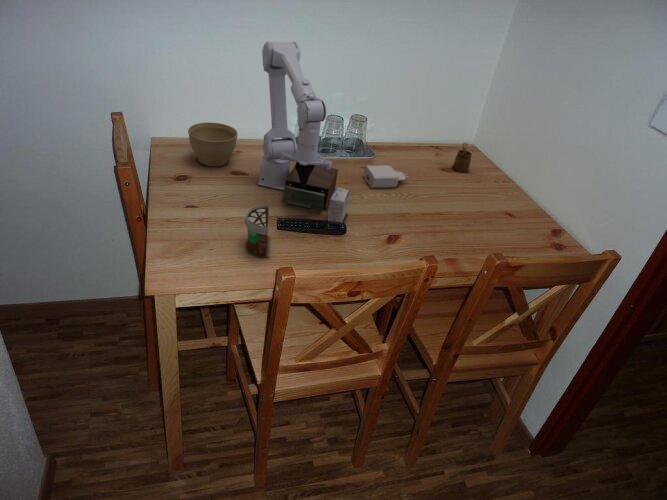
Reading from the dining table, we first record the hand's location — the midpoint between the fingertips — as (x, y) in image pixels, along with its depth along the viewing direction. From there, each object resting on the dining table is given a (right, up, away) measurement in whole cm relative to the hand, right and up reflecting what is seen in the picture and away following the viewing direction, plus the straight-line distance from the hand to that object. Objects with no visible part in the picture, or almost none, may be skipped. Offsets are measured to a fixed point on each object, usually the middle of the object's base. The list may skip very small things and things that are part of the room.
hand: (303, 186), depth 150 cm
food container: (-12, -18, -12) cm, 25 cm away
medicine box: (+10, -9, +5) cm, 15 cm away
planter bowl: (-33, +12, +26) cm, 44 cm away
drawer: (0, -4, +10) cm, 10 cm away
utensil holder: (+58, +12, +48) cm, 76 cm away
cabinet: (+1, -1, +15) cm, 15 cm away
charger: (+28, +5, +30) cm, 41 cm away
